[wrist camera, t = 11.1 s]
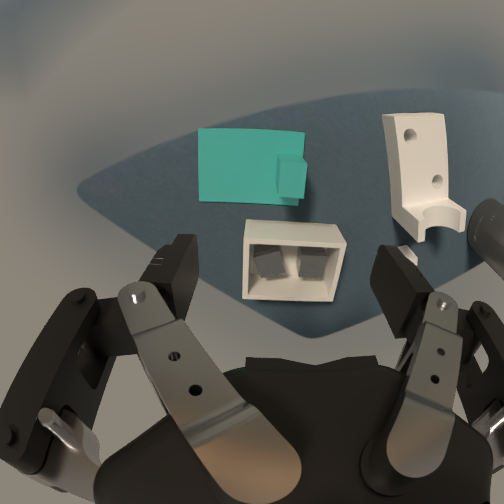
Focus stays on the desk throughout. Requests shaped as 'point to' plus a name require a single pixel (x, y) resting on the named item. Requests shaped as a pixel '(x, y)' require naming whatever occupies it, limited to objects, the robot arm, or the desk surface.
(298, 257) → the block
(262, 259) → the block
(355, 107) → the desk surface
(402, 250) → the eraser
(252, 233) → the tub
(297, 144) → the lid
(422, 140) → the bracket
